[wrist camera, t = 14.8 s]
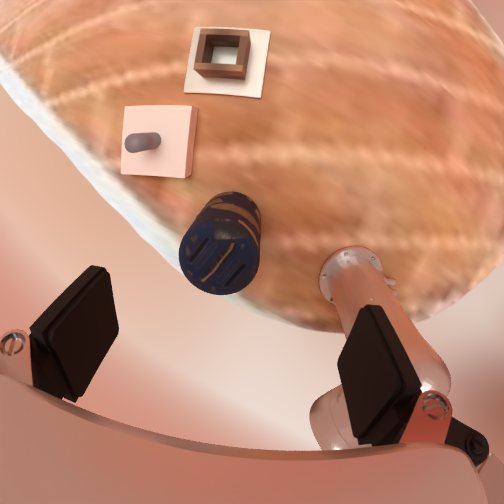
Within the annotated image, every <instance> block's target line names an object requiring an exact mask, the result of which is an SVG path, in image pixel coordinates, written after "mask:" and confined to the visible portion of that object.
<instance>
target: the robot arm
mask: <svg viewBox="0 0 504 504" xmlns="http://www.w3.org/2000/svg"><path fill="white" fill-rule="evenodd" d="M345 252H346V253H345ZM324 274H325V275H324ZM395 285H396V280H395V279H390V278H389V279H387V278H386V277H385V276H384V274H383V267H382V264H381V261H380V259H379V258H378V257H377V255H376V254H375V253H374V252H372V251H371V250H369V249H367V248H365V247H360V246H351V247H346V248H343V249H341V250H339V251H337V252H336V253H334V254H333V255H332V256H330V257H329V258H328V259H327V261H326V262H325V263H324V265H323V267H322V269H321V271H320V274H319V286H320V290H321V292H322V294H323V296H324V297H325V299H326V300H327V301H328V302H330V303H332V304H334V305H335V307H336V310H337V313H338V315H339V318H340V321H341V324H342V327H343V330H344V333H345V336H346V339H347V341H346V343H345V345H344V347H343V350H342V352H341V354H340V356H339V359H338V363H337V366H338V370H339V374H340V379H341V383H342V384H341V385H339V386H337V387H336V388H334V389H332V390H330V391H328V392H327V393H325V394H324V395H322V396H320V397H319V398H318V399H317V400H316V401H315V402H314V403H313V405H312V407H311V409H310V424H311V428H312V430H313V433H314V436H315V438H316V440H317V442H318V444H319V446H320V447H321V449H322V451H278V450H260V449H248V448H238V447H229V446H221V445H214V444H208V443H202V442H196V441H190V440H186V439H180V438H176V437H172V436H167V435H163V434H159V433H155V432H151V431H147V430H144V429H140V428H137V427H133V426H130V425H127V424H124V423H120V422H117V421H114V420H111V419H109V418H106V417H103V416H100V415H97V414H95V413H92V412H90V411H87V410H85V409H82V408H80V407H77V406H75V405H73V404H70V403H68V402H66V401H63V400H62V398H63V397H64V398H66V399H68V400H70V401H72V402H76V401H77V399H78V397H81V396H83V394H84V393H85V391H86V389H87V387H88V385H89V384H90V382H91V380H92V378H93V376H94V374H95V373H96V371H97V369H98V367H99V366H100V364H101V362H102V360H103V359H104V357H105V355H106V354H107V352H108V350H109V348H110V347H111V345H112V344H113V342H114V340H115V338H116V337H117V335H118V332H119V327H118V321H117V316H116V310H115V304H114V298H113V292H112V285H111V278H110V274H109V273H108V272H107V270H106V269H105V268H104V267H98V266H94V265H91V266H90V267H89V268H87V269H86V270H85V271H84V272H83V273H82V274H81V275H80V276H79V277H78V278H77V279H76V280H75V281H74V282H73V283H72V284H71V285H70V286H69V287H68V288H67V289H66V290H65V291H64V292H63V293H62V294H61V295H60V296H59V297H58V298H57V299H56V300H55V301H54V302H53V303H52V304H51V305H50V306H49V307H48V308H47V309H46V310H45V311H44V312H43V313H42V315H41V316H40V317H39V318H38V319H37V320H36V321H35V322H34V324H32V326H31V327H30V330H31V334H30V335H29V336H28V334H27V333H26V332H24V331H23V330H18V329H17V330H11V331H8V332H6V333H5V334H3V335H2V336H1V337H0V504H504V464H503V463H502V462H501V461H500V460H499V459H498V458H497V457H496V456H495V455H494V454H493V453H490V454H489V445H488V442H487V440H486V438H485V437H484V436H483V435H482V434H481V433H479V432H477V431H476V430H474V429H472V428H470V427H468V426H467V425H465V424H463V423H461V422H460V421H458V420H456V419H455V418H454V417H452V406H451V403H450V401H449V400H448V399H447V396H448V394H449V392H450V388H451V377H450V373H449V371H448V368H447V367H446V365H445V363H444V361H443V360H442V359H441V357H440V356H439V355H438V354H437V353H436V352H435V350H434V349H433V348H432V347H431V346H430V345H429V344H428V343H427V341H426V340H425V339H424V338H423V337H422V336H421V334H420V333H419V332H418V330H417V329H416V327H415V326H414V324H413V323H412V321H411V320H410V319H409V317H408V315H407V314H406V312H405V311H404V309H403V308H402V306H401V305H400V303H399V302H398V300H397V298H396V297H397V290H395V289H390V288H389V287H388V286H395Z"/></svg>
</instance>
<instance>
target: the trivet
mask: <svg viewBox="0 0 504 504" xmlns="http://www.w3.org/2000/svg"><path fill="white" fill-rule="evenodd" d="M203 28H207V29H237V30H249V34H250V40H251V46H250V52H249V59H248V65H247V71H246V78H245V80H240V79H228V78H212V77H202V76H201V75H200V74H198V73H197V72H196V71H195V70H194V69H193V68H194V62H195V56H196V50H197V45H198V40H199V35H200V30H201V29H203ZM269 38H270V31H268V30H259V29H247V28H231V27H195V28H194V33H193V39H192V44H191V49H190V55H189V61H188V67H187V73H186V80H185V86H184V93H203V94H221V95H234V96H244V97H253V98H261V93H262V86H263V79H264V72H265V65H266V58H267V52H268V45H269ZM237 53H238V47H222V46H214V50H213V56H212V62H211V63H220V64H235V65H236V59H237Z"/></svg>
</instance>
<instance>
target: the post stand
mask: <svg viewBox="0 0 504 504" xmlns="http://www.w3.org/2000/svg"><path fill="white" fill-rule="evenodd" d="M197 114H198V108H197V107H194V106H176V105H152V106H125V113H124V123H123V136H122V154H121V174H133V175H149V176H163V177H176V178H186V177H188V176H189V175H191V173H192V161H193V151H194V141H195V131H196V122H197Z"/></svg>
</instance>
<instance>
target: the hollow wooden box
mask: <svg viewBox="0 0 504 504" xmlns="http://www.w3.org/2000/svg"><path fill="white" fill-rule="evenodd" d="M214 46H222V47H238V53H237V59H236V65H235V64H220V63H211V62H212V56H213V50H214ZM250 46H251V40H250V34H249V30H237V29H207V28H203V29H201V30H200V35H199V40H198V45H197V50H196V56H195V62H194V68H193V69H194V70H195V71H196V72H197V73H198V74H200V75H201V76H202V77H212V78H228V79H240V80H245V78H246V71H247V65H248V59H249V52H250Z"/></svg>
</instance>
